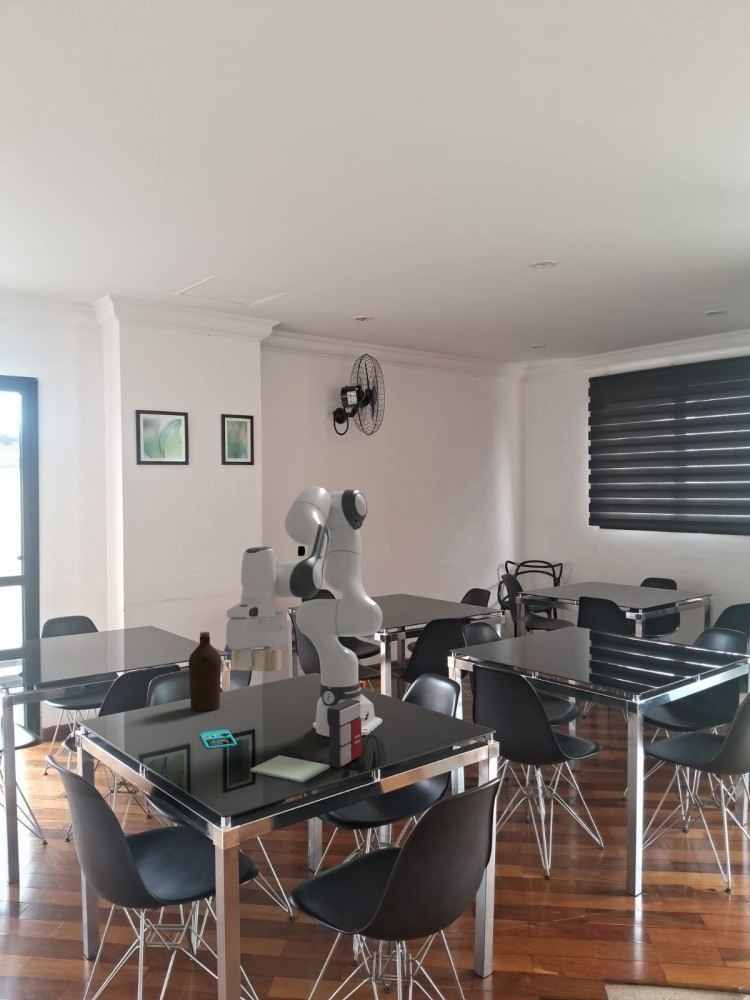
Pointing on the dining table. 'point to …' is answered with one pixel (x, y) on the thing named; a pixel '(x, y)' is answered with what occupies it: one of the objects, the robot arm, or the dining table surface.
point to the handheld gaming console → (217, 738)
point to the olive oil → (205, 676)
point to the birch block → (257, 660)
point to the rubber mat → (290, 768)
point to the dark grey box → (344, 732)
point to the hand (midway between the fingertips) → (258, 665)
